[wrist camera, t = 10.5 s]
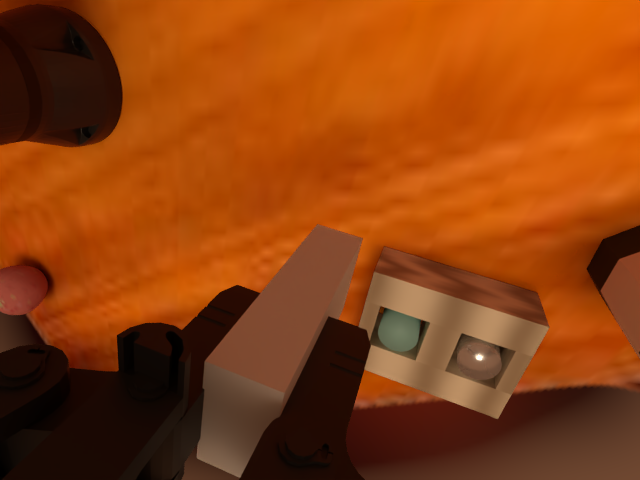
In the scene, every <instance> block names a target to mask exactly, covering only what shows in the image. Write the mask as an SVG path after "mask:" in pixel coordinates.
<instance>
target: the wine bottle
mask: <svg viewBox="0 0 640 480" xmlns="http://www.w3.org/2000/svg"><path fill="white" fill-rule="evenodd" d="M587 270H588V272H589V274H590V276H591V278H592V280H593V282H594V284H595V285H596V287H597V289H598V291H599V293H600V295H601V297H602V298H603V300H604V301H605V303H606V305H607V306H608V308H609V310H610V311H611V313H612V315H613V316H614V318H615V319H616V321H617V323H618V324H619V326H620V328H621V329H622V331H623V332H624V334H625V336H626V337H627V339H628V341H629V342H630V344H631V345H632V347H633V349H634V350H635V352H636V354H637V355H638V357H639V358H640V226H637V227H635V228H632V229H629V230H627V231H624V232H622V233H619V234H616V235H614V236H611V237H609V238H606V239H603V240H602V242H601V244H600V246H599V248H598V250H597V251H596V253H595V255H594V257H593V259H592V260H591V262H590V264H589V266H588V268H587Z"/></svg>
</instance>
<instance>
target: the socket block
mask: <svg viewBox="0 0 640 480" xmlns="http://www.w3.org/2000/svg"><path fill="white" fill-rule="evenodd" d="M380 306H382V307H385V308H388V309H391V310H394V311H397V312H400V313H403V314H406V315H409V316H412V317H415V318H418V319H421V320H423V321H422V324H421V326H420V330H419V337H418V342H417V344H416V346H415V347H414V348H412V349H411V350H408V351H404V352H399V351H394V350H391V349H389V348H387V347H386V346H385V345H384V344H383V343H382V342H381V341H380V339H379V336H378V329H379V326H380V322H381V319H382V316H383V314H381V313H379V310H380ZM359 327H360V328H363V329H366V330H367V333H368V337H369V341H370V344H371V348H370V351H369V355H368V358H367V362H366V365H365V369H364V370H367V371H370V372H372V373H375V374H378V375H380V376H383V377H386V378H389V379H391V380H394V381H397V382H399V383H402V384H405V385H408V386H410V387H413V388H416V389H418V390H421V391H424V392H426V393H429V394H432V395H435V396H437V397H440V398H443V399H445V400H448V401H451V402H454V403H456V404H459V405H462V406H464V407H467V408H470V409H472V410H475V411H478V412H481V413H484V414H486V415H489V416H492V417H494V418H498V417H499V415H500V414H501V412H502V410H503V409H504V407H505V405H506V403H507V401H508V399H509V398H510V396H511V394H512V393H513V391H514V389H515V387H516V386H517V384H518V382H519V380H520V378H521V377H522V375H523V373H524V371H525V370H526V368H527V366H528V364H529V363H530V361H531V359H532V357H533V355H534V354H535V352H536V350H537V348H538V347H539V345H540V343H541V341H542V340H543V338H544V336H545V334H546V332H547V331H548V329H549V325H548V322H547V319H546V316H545V313H544V310H543V307H542V304H541V302H540V299H539V296H538V293H536V292H533V291H530V290H526V289H523V288H520V287H516V286H513V285H510V284H506V283H503V282H500V281H497V280H493V279H490V278H487V277H483V276H480V275H477V274H473V273H470V272H467V271H464V270H460V269H457V268H454V267H450V266H447V265H444V264H440V263H437V262H434V261H431V260H427V259H424V258H421V257H417V256H414V255H411V254H407V253H404V252H401V251H398V250H394V249H391V248H388V247H384V248H383V251H382V253H381V256H380V258H379V261H378V263H377V266H376V268H375V271H374V274H373V277H372V281H371V284H370V288H369V292H368V295H367V299H366V302H365V306H364V309H363V313H362V316H361V320H360V323H359ZM461 333H463V334H466V335H469V336H472V337H475V338H478V339H481V340H484V341H487V342H490V343H493V344H496V345H499V349H500V356H501V363H502V367H501V370H500V372H499V373H498V374H497V375H496V376H495V377H493V378H491V379H487V380H477V379H473V378H470V377H468V376H466V375H465V374H463V373H462V372H461V371H460V369H459V367H458V365H457V342H458V340H459V338H460V335H461Z"/></svg>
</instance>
